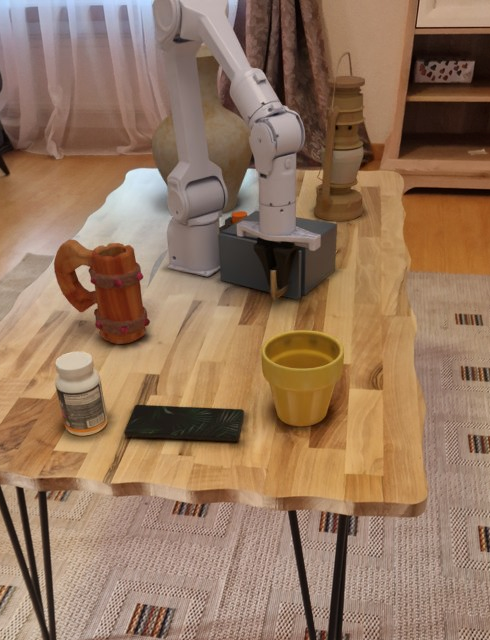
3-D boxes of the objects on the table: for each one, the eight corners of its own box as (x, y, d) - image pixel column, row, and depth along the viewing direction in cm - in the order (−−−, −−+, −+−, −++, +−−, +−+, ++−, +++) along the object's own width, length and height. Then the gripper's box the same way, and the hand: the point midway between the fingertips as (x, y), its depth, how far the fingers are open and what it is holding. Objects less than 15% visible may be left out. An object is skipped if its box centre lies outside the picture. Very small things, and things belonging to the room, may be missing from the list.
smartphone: (238, 437, 92) (123, 432, 94) (238, 444, 93) (124, 438, 95) (244, 408, 97) (135, 403, 99) (244, 414, 98) (135, 409, 100)
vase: (254, 219, 156) (251, 58, 137) (153, 223, 157) (135, 63, 138) (253, 187, 173) (250, 39, 154) (162, 191, 174) (147, 45, 154)
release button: (228, 223, 147) (228, 215, 146) (237, 218, 149) (236, 210, 148) (242, 226, 146) (242, 217, 145) (250, 221, 148) (250, 212, 147)
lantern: (318, 200, 164) (323, 45, 144) (365, 201, 162) (376, 44, 142) (309, 224, 152) (313, 58, 133) (359, 225, 150) (371, 58, 131)
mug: (161, 328, 119) (150, 236, 109) (140, 352, 113) (127, 257, 103) (82, 319, 123) (64, 229, 113) (58, 341, 117) (37, 249, 107)
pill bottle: (67, 415, 100) (52, 350, 93) (109, 412, 100) (97, 347, 94) (63, 439, 95) (48, 373, 89) (107, 435, 96) (94, 369, 89)
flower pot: (287, 444, 92) (288, 377, 86) (248, 406, 99) (246, 342, 93) (355, 421, 96) (360, 354, 89) (313, 386, 103) (315, 322, 97)
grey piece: (282, 311, 121) (282, 262, 116) (203, 290, 129) (200, 243, 124) (300, 298, 125) (301, 250, 119) (223, 278, 133) (220, 232, 127)
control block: (212, 237, 149) (211, 222, 147) (230, 226, 154) (230, 212, 152) (250, 244, 145) (249, 229, 143) (267, 233, 150) (267, 218, 148)
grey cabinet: (304, 296, 126) (305, 246, 120) (223, 278, 133) (221, 231, 127) (335, 270, 133) (337, 223, 128) (257, 255, 141) (256, 210, 135)
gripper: (331, 199, 112) (328, 284, 120) (252, 187, 118) (254, 268, 127) (308, 213, 107) (306, 300, 116) (227, 200, 114) (232, 283, 123)
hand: (278, 284), depth 121 cm, fingers closed
